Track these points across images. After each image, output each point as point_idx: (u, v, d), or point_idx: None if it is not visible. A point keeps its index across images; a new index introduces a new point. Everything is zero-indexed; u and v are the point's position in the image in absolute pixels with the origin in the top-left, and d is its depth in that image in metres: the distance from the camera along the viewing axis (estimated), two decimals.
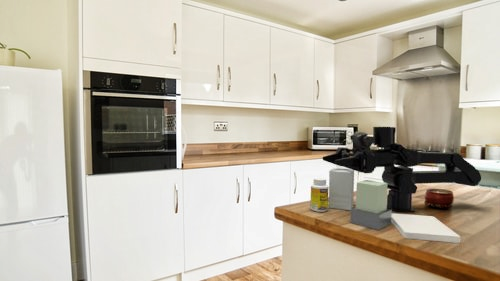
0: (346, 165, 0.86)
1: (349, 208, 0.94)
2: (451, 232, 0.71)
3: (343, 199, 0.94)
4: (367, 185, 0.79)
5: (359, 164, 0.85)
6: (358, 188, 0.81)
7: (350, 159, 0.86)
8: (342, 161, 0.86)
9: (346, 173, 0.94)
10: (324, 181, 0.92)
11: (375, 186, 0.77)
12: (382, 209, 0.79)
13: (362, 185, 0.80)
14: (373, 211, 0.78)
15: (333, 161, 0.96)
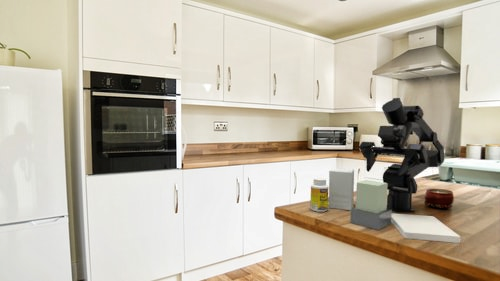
0: (406, 168, 0.84)
1: (349, 208, 0.94)
2: (451, 232, 0.71)
3: (343, 199, 0.94)
4: (367, 185, 0.79)
5: (414, 160, 0.84)
6: (358, 188, 0.81)
7: (407, 162, 0.83)
8: (402, 169, 0.83)
9: (346, 173, 0.94)
10: (324, 181, 0.92)
11: (375, 186, 0.77)
12: (382, 209, 0.79)
13: (362, 185, 0.80)
14: (373, 211, 0.78)
15: (372, 163, 0.92)
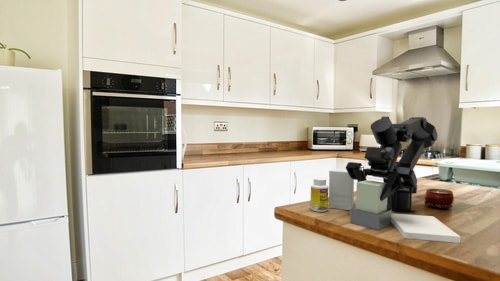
0: (389, 193, 0.79)
1: (349, 208, 0.94)
2: (451, 232, 0.71)
3: (343, 199, 0.94)
4: (367, 185, 0.79)
5: (398, 183, 0.79)
6: (358, 188, 0.81)
7: (390, 186, 0.78)
8: (385, 194, 0.78)
9: (346, 173, 0.94)
10: (324, 181, 0.92)
11: (375, 186, 0.77)
12: (382, 209, 0.79)
13: (362, 185, 0.80)
14: (373, 211, 0.78)
15: None
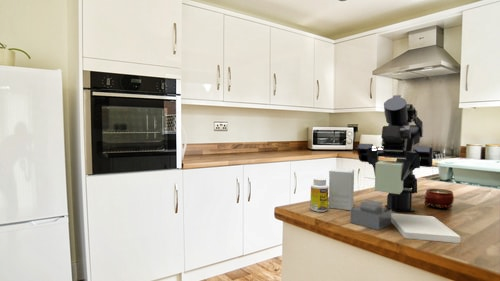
0: (407, 173, 0.77)
1: (349, 208, 0.94)
2: (451, 232, 0.71)
3: (343, 199, 0.94)
4: (388, 165, 0.75)
5: (415, 163, 0.78)
6: (377, 169, 0.77)
7: (409, 165, 0.76)
8: (405, 173, 0.76)
9: (346, 173, 0.94)
10: (324, 181, 0.92)
11: (397, 165, 0.74)
12: (401, 189, 0.77)
13: (382, 165, 0.76)
14: (395, 192, 0.75)
15: None
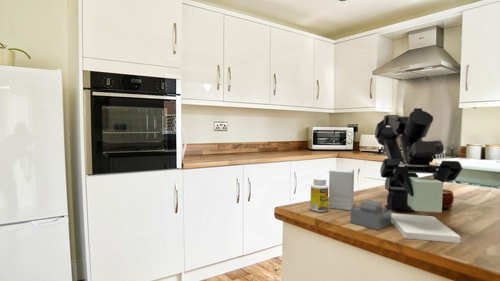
0: None
1: (349, 208, 0.94)
2: (451, 232, 0.71)
3: (343, 199, 0.94)
4: (430, 183, 0.72)
5: None
6: (418, 187, 0.72)
7: None
8: None
9: (346, 173, 0.94)
10: (324, 181, 0.92)
11: (439, 183, 0.71)
12: None
13: (423, 183, 0.72)
14: (437, 210, 0.72)
15: None
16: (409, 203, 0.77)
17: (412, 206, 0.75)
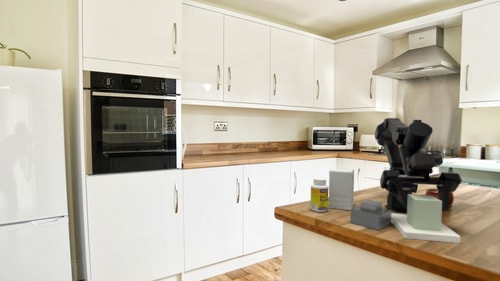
0: None
1: (349, 208, 0.94)
2: (451, 232, 0.71)
3: (343, 199, 0.94)
4: (429, 201, 0.72)
5: None
6: (417, 206, 0.73)
7: None
8: None
9: (346, 173, 0.94)
10: (324, 181, 0.92)
11: (438, 202, 0.71)
12: None
13: (422, 202, 0.72)
14: (436, 229, 0.72)
15: None
16: (408, 220, 0.77)
17: (411, 224, 0.75)
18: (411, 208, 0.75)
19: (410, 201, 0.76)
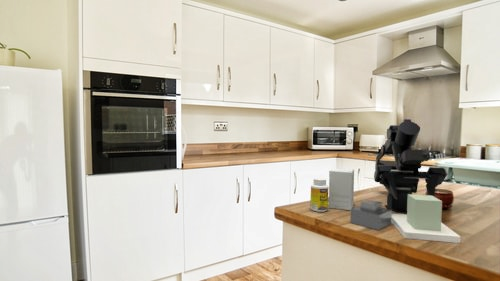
0: None
1: (349, 208, 0.94)
2: (451, 232, 0.71)
3: (343, 199, 0.94)
4: (429, 201, 0.72)
5: None
6: (417, 206, 0.73)
7: None
8: None
9: (346, 173, 0.94)
10: (324, 181, 0.92)
11: (438, 202, 0.71)
12: None
13: (422, 202, 0.72)
14: (436, 229, 0.72)
15: None
16: (408, 220, 0.77)
17: (411, 224, 0.75)
18: (411, 208, 0.75)
19: (410, 201, 0.76)
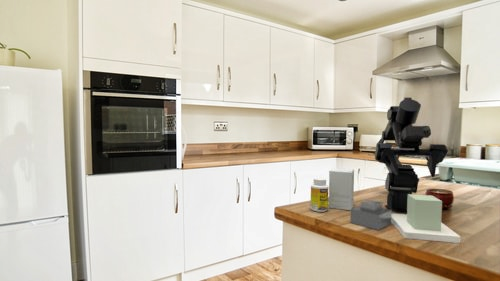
0: None
1: (349, 208, 0.94)
2: (451, 232, 0.71)
3: (343, 199, 0.94)
4: (429, 201, 0.72)
5: None
6: (417, 206, 0.73)
7: None
8: None
9: (346, 173, 0.94)
10: (324, 181, 0.92)
11: (438, 202, 0.71)
12: None
13: (422, 202, 0.72)
14: (436, 229, 0.72)
15: None
16: (408, 220, 0.77)
17: (411, 224, 0.75)
18: (411, 208, 0.75)
19: (410, 201, 0.76)
